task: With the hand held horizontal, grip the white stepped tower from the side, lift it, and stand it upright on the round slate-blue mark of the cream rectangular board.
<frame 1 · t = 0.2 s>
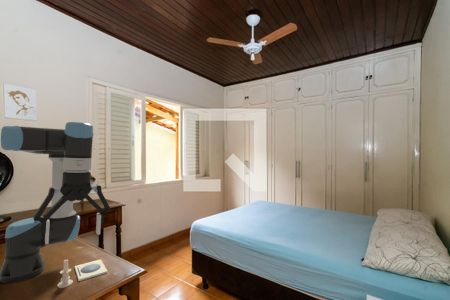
hand: (73, 237, 71), 27 cm above the table, tool pointing down, fingers open, 13 cm apart
white stepped tower: (65, 284, 92), on the table
cream rectangular board: (90, 270, 103), on the table
figurine: (39, 244, 130), on the table
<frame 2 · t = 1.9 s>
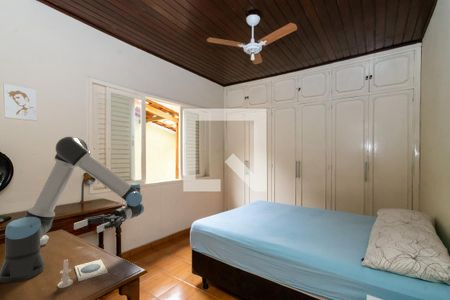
hand: (85, 228, 101), 20 cm above the table, tool horizontal, fingers open, 13 cm apart
nothing on the table moved.
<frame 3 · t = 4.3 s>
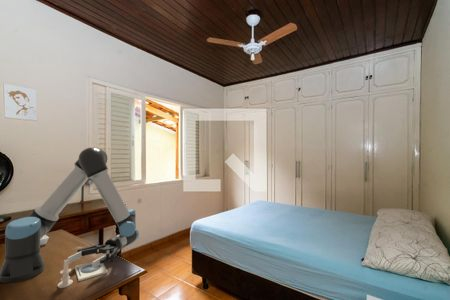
hand: (80, 262, 98), 6 cm above the table, tool horizontal, fingers open, 13 cm apart
nothing on the table moved.
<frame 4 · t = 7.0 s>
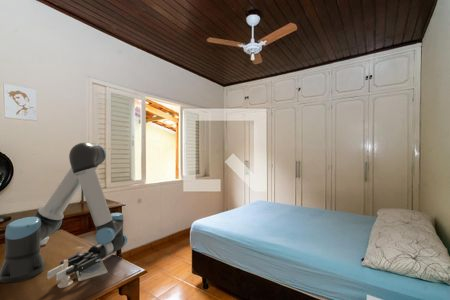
hand: (52, 276, 87), 6 cm above the table, tool horizontal, fingers closed on white stepped tower, 4 cm apart
white stepped tower: (65, 284, 92), on the table, touching gripper
everything else where it was.
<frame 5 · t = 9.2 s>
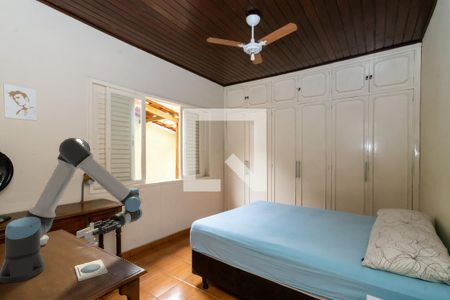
hand: (81, 235, 98), 18 cm above the table, tool horizontal, fingers closed on white stepped tower, 4 cm apart
white stepped tower: (91, 245, 104), point 12 cm above the table, touching gripper
everything else where it was.
when the fingers open (8 cm above the table, at t = 11.5 s): white stepped tower drops 1 cm, resting on cream rectangular board.
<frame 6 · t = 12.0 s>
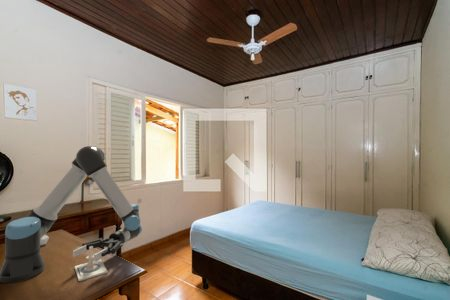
hand: (83, 255, 100), 8 cm above the table, tool horizontal, fingers open, 11 cm apart
white stepped tower: (90, 268, 103), point 1 cm above the table, touching cream rectangular board
everything else where it was.
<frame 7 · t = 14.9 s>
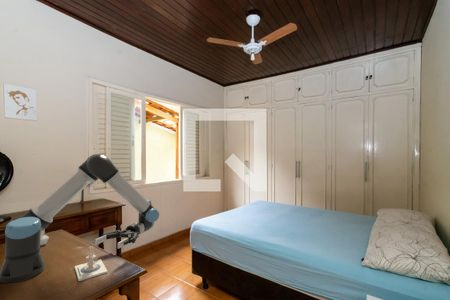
hand: (106, 244, 113), 8 cm above the table, tool horizontal, fingers open, 13 cm apart
nothing on the table moved.
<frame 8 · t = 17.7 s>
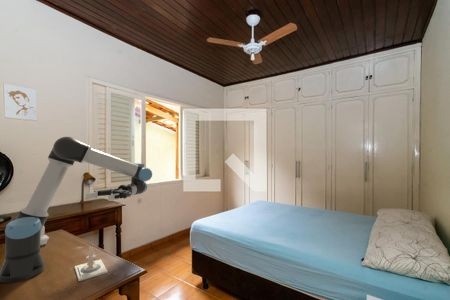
hand: (97, 197, 111), 32 cm above the table, tool horizontal, fingers open, 13 cm apart
nothing on the table moved.
at the end: white stepped tower inside the target area on the cream rectangular board (0.1 cm from its centre), point 0.7 cm above the cream rectangular board's base; white stepped tower tilted 0°; the gripper is holding nothing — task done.
